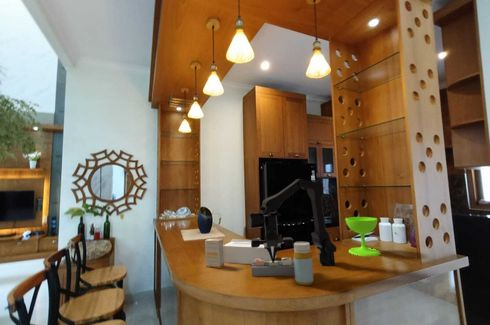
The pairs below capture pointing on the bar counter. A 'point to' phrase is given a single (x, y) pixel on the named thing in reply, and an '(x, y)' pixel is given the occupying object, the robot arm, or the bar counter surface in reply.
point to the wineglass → (362, 234)
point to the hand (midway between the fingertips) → (273, 261)
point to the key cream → (286, 261)
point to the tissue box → (244, 252)
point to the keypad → (273, 269)
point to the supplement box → (214, 253)
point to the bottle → (303, 263)
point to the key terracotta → (259, 262)
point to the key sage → (273, 263)
